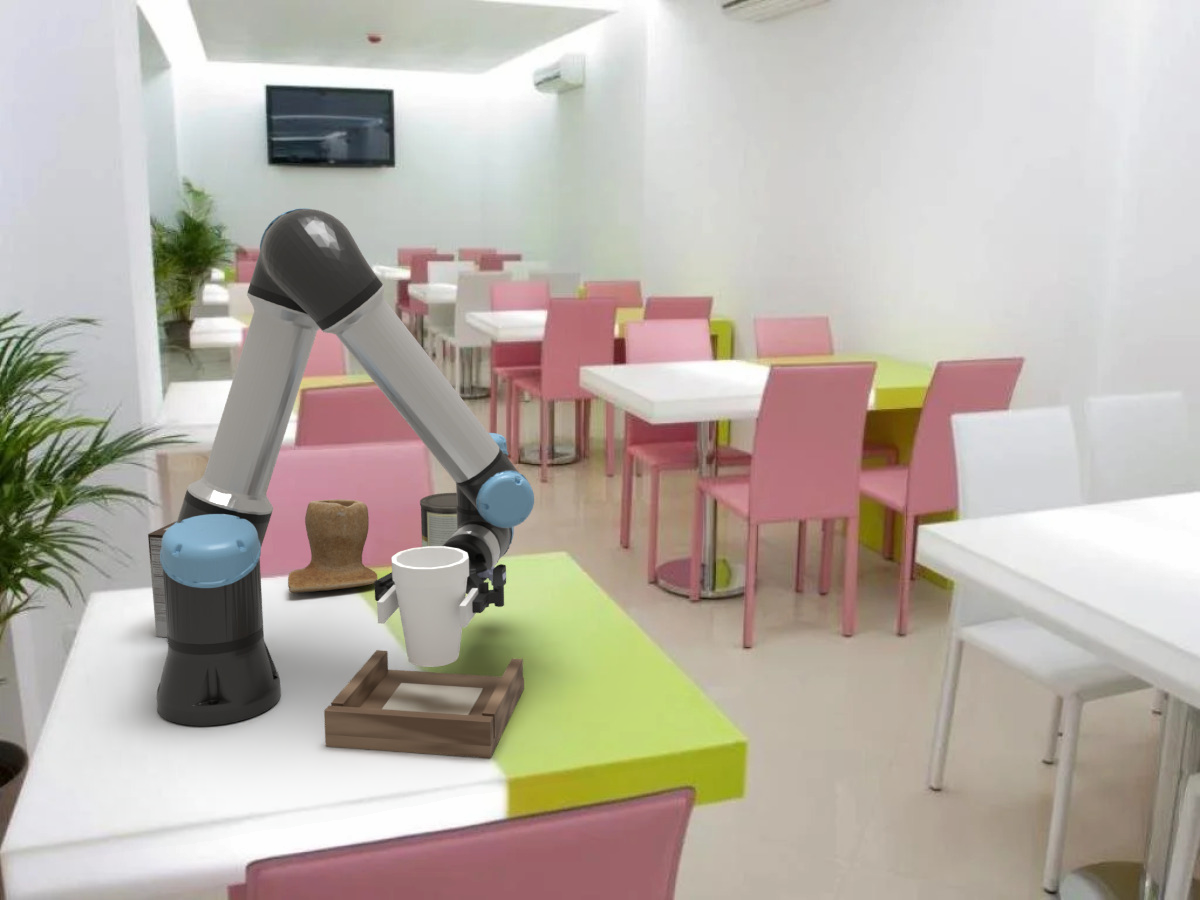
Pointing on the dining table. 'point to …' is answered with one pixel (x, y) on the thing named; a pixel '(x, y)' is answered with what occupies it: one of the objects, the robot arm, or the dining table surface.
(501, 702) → the tray
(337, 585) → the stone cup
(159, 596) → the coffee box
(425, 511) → the coffee can
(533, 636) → the dining table surface
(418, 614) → the foam cup
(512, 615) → the dining table surface
